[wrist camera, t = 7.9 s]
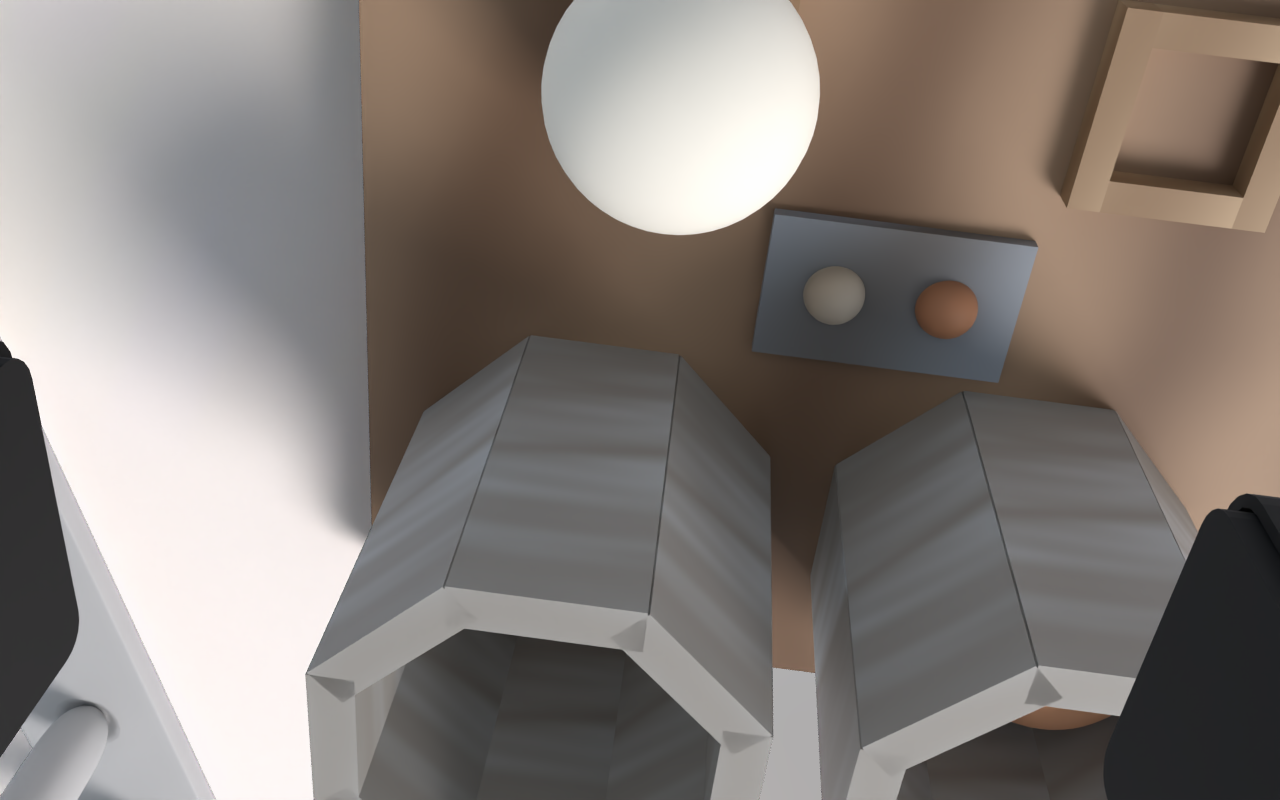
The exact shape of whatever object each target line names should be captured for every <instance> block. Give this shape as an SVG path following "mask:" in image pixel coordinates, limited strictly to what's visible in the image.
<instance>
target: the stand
mask: <svg viewBox="0 0 1280 800" xmlns="http://www.w3.org/2000/svg"><path fill="white" fill-rule="evenodd" d="M573 1H574V0H359V21H360V62H361V104H362V145H363V186H364V227H365V268H366V309H367V350H368V392H369V433H370V474H371V515H372V527H371V530H370V532H369V534H368V536H367V539H366V541H365V543H364V545H363V548H362V550H361V552H360V554H359V556H358V559H357V561H356V563H355V565H354V568H353V570H352V572H351V574H350V576H349V579H348V581H347V583H346V585H345V588H344V590H343V592H342V594H341V596H340V599H339V601H338V603H337V605H336V608H335V610H334V612H333V614H332V617H331V619H330V621H329V623H328V625H327V628H326V630H325V632H324V634H323V637H322V639H321V641H320V643H319V645H318V648H317V650H316V652H315V654H314V657H313V659H312V661H311V663H310V665H309V668H308V670H307V672H306V674H305V675H306V690H307V705H308V720H309V735H310V750H311V765H312V780H313V795H314V800H759V799H760V794H761V790H762V785H763V781H764V776H765V772H766V767H767V763H768V758H769V754H770V749H771V745H772V740H773V679H772V678H773V671H772V667H774V668H782V669H790V670H797V671H804V672H812V673H815V676H816V696H817V714H818V735H819V752H820V773H821V793H822V800H1107V796H1106V792H1105V787H1104V777H1103V769H1104V758H1105V752H1106V749H1107V746H1108V743H1109V741H1110V738H1111V736H1112V734H1113V731H1114V729H1115V727H1116V724H1117V722H1118V720H1119V717H1120V715H1121V713H1122V710H1123V708H1124V705H1125V703H1126V701H1127V698H1128V696H1129V694H1130V691H1131V689H1132V687H1133V684H1134V682H1135V680H1136V677H1137V675H1138V673H1139V670H1140V668H1141V665H1142V663H1143V661H1144V658H1145V656H1146V654H1147V651H1148V649H1149V647H1150V644H1151V642H1152V640H1153V637H1154V635H1155V633H1156V630H1157V628H1158V625H1159V623H1160V621H1161V618H1162V616H1163V614H1164V611H1165V609H1166V607H1167V604H1168V602H1169V600H1170V597H1171V595H1172V593H1173V590H1174V588H1175V585H1176V583H1177V581H1178V578H1179V576H1180V574H1181V571H1182V569H1183V567H1184V564H1185V562H1186V560H1187V557H1188V555H1189V553H1190V550H1191V548H1192V545H1193V543H1194V541H1195V538H1196V536H1197V534H1198V531H1199V529H1200V527H1201V524H1202V523H1203V521H1204V519H1205V517H1206V516H1207V515H1208V514H1209V513H1210V512H1211V511H1212V510H1214V509H1217V508H1219V509H1228V507H1229V505H1230V504H1231V503H1232V502H1233V501H1234V500H1235V499H1236V498H1237V497H1238V496H1240V495H1243V494H1246V493H1248V494H1256V495H1264V496H1272V497H1280V0H789V1H790V2H791V3H792V5H793V6H794V8H795V9H796V11H797V13H798V14H799V16H800V17H801V19H802V21H803V23H804V25H805V27H806V30H807V32H808V34H809V36H810V39H811V41H812V45H813V48H814V51H815V55H816V58H817V64H818V70H819V77H820V99H819V108H818V117H817V122H816V126H815V130H814V134H813V137H812V139H811V142H810V144H809V147H808V150H807V152H806V154H805V156H804V157H803V159H802V161H801V163H800V165H799V166H798V168H797V170H796V172H795V173H794V174H793V176H792V177H791V179H790V180H789V181H788V183H787V184H786V185H785V186H784V187H783V188H782V190H781V191H780V192H779V193H778V194H777V195H776V196H775V197H774V198H773V199H771V200H770V201H769V202H768V203H766V204H765V205H764V206H763V207H761V208H760V209H759V210H757V211H756V212H754V213H752V214H751V215H749V216H748V217H746V218H744V219H743V220H741V221H738V222H736V223H734V224H732V225H729V226H727V227H724V228H721V229H718V230H714V231H711V232H705V233H700V234H691V235H669V234H660V233H654V232H649V231H645V230H642V229H638V228H635V227H632V226H630V225H627V224H625V223H623V222H621V221H619V220H616V219H615V218H613V217H611V216H610V215H608V214H606V213H605V212H603V211H602V210H600V209H599V208H598V207H597V206H595V205H594V204H593V203H591V202H590V201H589V200H588V199H587V198H586V197H585V196H584V195H583V194H582V193H581V192H580V191H579V190H578V189H577V188H576V186H575V185H574V184H573V182H572V181H571V180H570V178H569V177H568V176H567V174H566V173H565V172H564V170H563V168H562V166H561V165H560V163H559V161H558V160H557V158H556V156H555V153H554V151H553V149H552V146H551V144H550V141H549V138H548V134H547V131H546V127H545V123H544V116H543V109H542V95H541V83H542V75H543V67H544V63H545V59H546V55H547V51H548V48H549V44H550V41H551V39H552V37H553V34H554V32H555V29H556V27H557V25H558V23H559V22H560V20H561V18H562V16H563V15H564V13H565V11H566V10H567V9H568V7H569V6H570V5H571V3H572V2H573ZM1045 706H1047V707H1055V708H1062V709H1070V710H1077V711H1085V712H1092V713H1100V714H1107V715H1111V716H1109V717H1108V718H1105V719H1103V720H1101V721H1099V722H1096V723H1093V724H1090V725H1087V726H1083V727H1079V728H1074V729H1066V730H1045V729H1037V728H1030V727H1026V726H1023V725H1019V724H1016V723H1013V722H1012V721H1014V720H1016V719H1018V718H1020V717H1023V716H1025V715H1027V714H1029V713H1031V712H1034V711H1036V710H1038V709H1040V708H1042V707H1045Z"/></svg>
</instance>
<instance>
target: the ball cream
mask: <svg viewBox="0 0 1280 800" xmlns="http://www.w3.org/2000/svg"><path fill="white" fill-rule="evenodd" d="M541 95H542V109H543V116H544V123H545V127H546V131H547V134H548V138H549V141H550V144H551V146H552V149H553V151H554V153H555V156H556V158H557V160H558V161H559V163H560V165H561V166H562V168H563V170H564V172H565V173H566V174H567V176H568V177H569V178H570V180H571V181H572V182H573V184H574V185H575V186H576V188H577V189H578V190H579V191H580V192H581V193H582V194H583V195H584V196H585V197H586V198H587V199H588V200H589V201H590V202H591V203H593V204H594V205H595V206H597V207H598V208H599V209H600V210H602V211H603V212H605V213H606V214H608V215H610V216H611V217H613V218H615V219H616V220H619V221H621V222H623V223H625V224H627V225H630V226H632V227H635V228H638V229H642V230H645V231H649V232H654V233H660V234H669V235H691V234H700V233H705V232H711V231H714V230H718V229H721V228H724V227H727V226H729V225H732V224H734V223H736V222H738V221H741V220H743V219H744V218H746V217H748V216H749V215H751V214H752V213H754V212H756V211H757V210H759V209H760V208H761V207H763V206H764V205H765V204H766V203H768V202H769V201H770V200H771V199H773V198H774V197H775V196H776V195H777V194H778V193H779V192H780V191H781V190H782V188H783V187H784V186H785V185H786V184H787V183H788V181H789V180H790V179H791V177H792V176H793V174H794V173H795V172H796V170H797V168H798V166H799V165H800V163H801V161H802V159H803V157H804V156H805V154H806V152H807V150H808V147H809V144H810V142H811V139H812V137H813V134H814V130H815V126H816V122H817V117H818V108H819V99H820V77H819V70H818V64H817V58H816V55H815V51H814V48H813V45H812V41H811V39H810V36H809V34H808V32H807V30H806V27H805V25H804V23H803V21H802V19H801V17H800V16H799V14H798V13H797V11H796V9H795V8H794V6H793V5H792V3H791V2H790V1H789V0H574V1H573V2H572V3H571V5H570V6H569V7H568V9H567V10H566V11H565V13H564V15H563V16H562V18H561V20H560V22H559V23H558V25H557V27H556V29H555V32H554V34H553V37H552V39H551V41H550V44H549V48H548V51H547V55H546V59H545V63H544V67H543V75H542V83H541Z"/></svg>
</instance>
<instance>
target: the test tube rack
mask: <svg viewBox="0 0 1280 800" xmlns="http://www.w3.org/2000/svg"><path fill="white" fill-rule="evenodd" d="M0 341H2V340H1V337H0ZM41 426H42V425H41ZM42 431H43V436H44V441H45V446H46V451H47V456H48V461H49V466H50V471H51V476H52V481H53V486H54V491H55V496H56V501H57V506H58V511H59V516H60V521H61V526H62V531H63V536H64V541H65V546H66V551H67V556H68V561H69V566H70V571H71V576H72V581H73V586H74V591H75V596H76V601H77V606H78V611H79V629H78V634H77V639H76V642H75V645H74V648H73V650H72V653H71V654H70V656H69V658H68V660H67V661H66V663H65V664H64V666H63V667H62V669H61V670H60V671H59V673H58V674H57V676H56V677H55V679H54V680H53V682H52V683H51V685H50V686H49V687H48V689H47V690H46V692H45V693H44V695H43V696H42V698H41V699H40V700H39V702H38V703H37V705H36V706H35V708H34V709H33V711H32V712H31V713H30V715H29V716H28V718H27V719H26V721H25V722H24V724H23V725H22V727H21V729H22V731H23V733H24V734H25V736H26V738H27V740H28V742H29V743H30V745H31V747H32V750H31V752H30V753H29V754H28V756H27V757H26V759H25V760H24V762H23V763H22V765H21V766H20V768H19V769H18V771H17V772H16V774H15V775H14V777H13V778H12V780H11V781H10V782H9V784H8V785H7V787H6V788H5V790H4V791H3V793H2V794H1V796H0V800H216V798H215V796H214V794H213V792H212V790H211V788H210V786H209V783H208V781H207V779H206V777H205V775H204V773H203V771H202V768H201V766H200V764H199V762H198V760H197V758H196V756H195V753H194V751H193V749H192V747H191V745H190V743H189V741H188V738H187V736H186V734H185V732H184V730H183V728H182V726H181V723H180V721H179V719H178V717H177V715H176V713H175V711H174V708H173V706H172V704H171V702H170V700H169V698H168V696H167V693H166V691H165V689H164V687H163V685H162V683H161V680H160V678H159V676H158V674H157V672H156V670H155V668H154V665H153V663H152V661H151V659H150V657H149V655H148V653H147V650H146V648H145V646H144V644H143V642H142V640H141V638H140V635H139V633H138V631H137V629H136V627H135V625H134V623H133V620H132V618H131V616H130V614H129V612H128V610H127V608H126V605H125V603H124V601H123V599H122V597H121V595H120V593H119V590H118V588H117V586H116V584H115V582H114V580H113V578H112V575H111V573H110V571H109V569H108V567H107V565H106V563H105V560H104V558H103V556H102V554H101V552H100V550H99V548H98V545H97V543H96V541H95V539H94V537H93V535H92V533H91V530H90V528H89V526H88V524H87V522H86V520H85V518H84V515H83V513H82V511H81V509H80V507H79V505H78V503H77V500H76V498H75V496H74V494H73V492H72V490H71V488H70V485H69V483H68V481H67V479H66V477H65V475H64V473H63V470H62V468H61V466H60V464H59V462H58V460H57V458H56V455H55V453H54V451H53V449H52V447H51V445H50V442H49V440H48V438H47V436H46V434H45V432H44V430H43V427H42Z"/></svg>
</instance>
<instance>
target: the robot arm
mask: <svg viewBox="0 0 1280 800" xmlns="http://www.w3.org/2000/svg"><path fill="white" fill-rule="evenodd" d="M78 629H79V611H78V606H77V601H76V596H75V591H74V586H73V581H72V576H71V571H70V566H69V561H68V556H67V551H66V546H65V541H64V536H63V531H62V526H61V521H60V516H59V511H58V506H57V501H56V496H55V491H54V486H53V481H52V476H51V471H50V466H49V461H48V456H47V451H46V446H45V441H44V436H43V431H42V426H41V421H40V416H39V411H38V406H37V401H36V396H35V391H34V386H33V381H32V377H31V374H30V370H29V368H28V367H27V365H26V364H25V363H24V362H23V361H21V360H19V359H15V358H12V356H11V353H10V351H9V349H8V348H7V347H6V345H5V344H4V342H2V341H0V757H1V755H2V754H3V753H4V751H5V750H6V748H7V747H8V745H9V744H10V742H11V741H12V740H13V738H14V737H15V735H16V734H17V732H18V731H19V729H20V728H21V727H22V725H23V724H24V722H25V721H26V719H27V718H28V716H29V715H30V713H31V712H32V711H33V709H34V708H35V706H36V705H37V703H38V702H39V700H40V699H41V698H42V696H43V695H44V693H45V692H46V690H47V689H48V687H49V686H50V685H51V683H52V682H53V680H54V679H55V677H56V676H57V674H58V673H59V671H60V670H61V669H62V667H63V666H64V664H65V663H66V661H67V660H68V658H69V656H70V654H71V653H72V650H73V648H74V645H75V642H76V639H77V634H78ZM1103 777H1104V787H1105V792H1106V796H1107V800H1280V497H1272V496H1264V495H1256V494H1248V493H1246V494H1243V495H1240V496H1238V497H1237V498H1236V499H1235V500H1234V501H1233V502H1232V503H1231V504H1230V505H1229V507H1228V509H1219V508H1217V509H1214V510H1212V511H1211V512H1210V513H1209V514H1208V515H1207V516H1206V517H1205V519H1204V521H1203V523H1202V524H1201V527H1200V529H1199V531H1198V534H1197V536H1196V538H1195V541H1194V543H1193V545H1192V548H1191V550H1190V553H1189V555H1188V557H1187V560H1186V562H1185V564H1184V567H1183V569H1182V571H1181V574H1180V576H1179V578H1178V581H1177V583H1176V585H1175V588H1174V590H1173V593H1172V595H1171V597H1170V600H1169V602H1168V604H1167V607H1166V609H1165V611H1164V614H1163V616H1162V618H1161V621H1160V623H1159V625H1158V628H1157V630H1156V633H1155V635H1154V637H1153V640H1152V642H1151V644H1150V647H1149V649H1148V651H1147V654H1146V656H1145V658H1144V661H1143V663H1142V665H1141V668H1140V670H1139V673H1138V675H1137V677H1136V680H1135V682H1134V684H1133V687H1132V689H1131V691H1130V694H1129V696H1128V698H1127V701H1126V703H1125V705H1124V708H1123V710H1122V713H1121V715H1120V717H1119V720H1118V722H1117V724H1116V727H1115V729H1114V731H1113V734H1112V736H1111V738H1110V741H1109V743H1108V746H1107V749H1106V752H1105V758H1104V769H1103Z"/></svg>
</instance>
